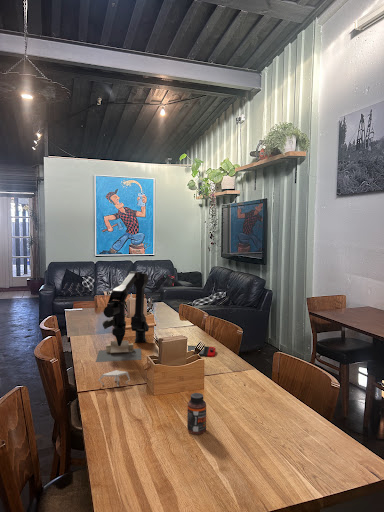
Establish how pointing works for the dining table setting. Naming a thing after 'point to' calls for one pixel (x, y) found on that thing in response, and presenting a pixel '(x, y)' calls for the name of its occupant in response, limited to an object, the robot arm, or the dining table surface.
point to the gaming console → (205, 351)
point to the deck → (119, 347)
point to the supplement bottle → (196, 414)
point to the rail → (108, 348)
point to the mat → (118, 356)
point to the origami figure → (116, 374)
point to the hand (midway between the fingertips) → (119, 343)
